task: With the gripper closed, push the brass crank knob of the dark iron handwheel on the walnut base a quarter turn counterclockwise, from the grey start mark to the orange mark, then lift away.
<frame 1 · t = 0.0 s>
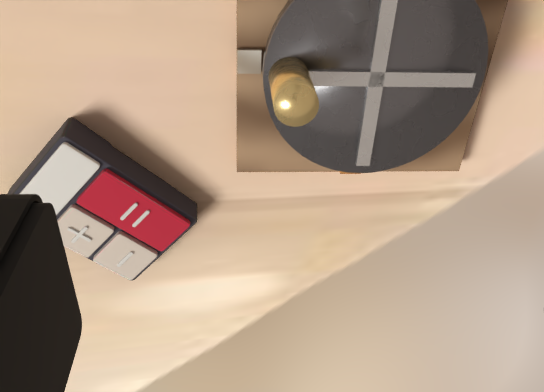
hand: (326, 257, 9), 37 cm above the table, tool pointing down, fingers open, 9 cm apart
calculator: (107, 195, 52), on the table
handwheel: (379, 83, 40), point 6 cm above the table, hinge at 0.0°
valve base: (362, 56, 45), on the table
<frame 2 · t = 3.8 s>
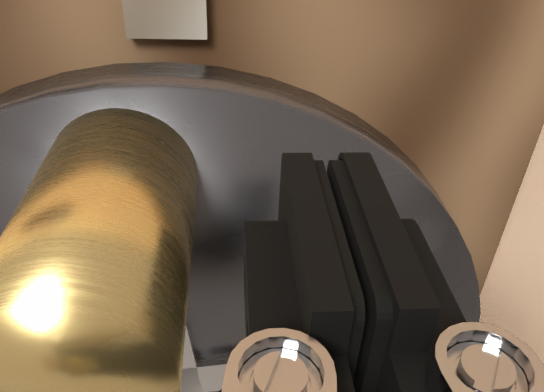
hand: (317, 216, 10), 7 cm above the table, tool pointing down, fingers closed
valve base: (189, 259, 20), on the table
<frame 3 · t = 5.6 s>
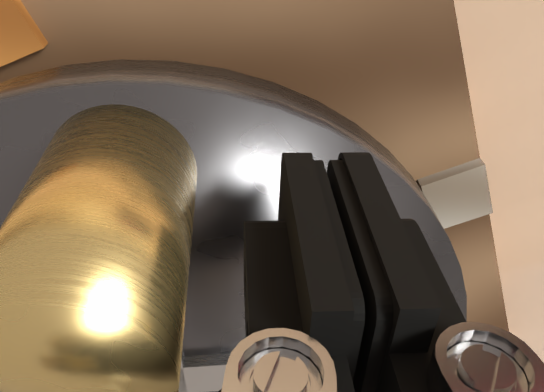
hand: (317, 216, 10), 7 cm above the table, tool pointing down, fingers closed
valve base: (178, 258, 19), on the table
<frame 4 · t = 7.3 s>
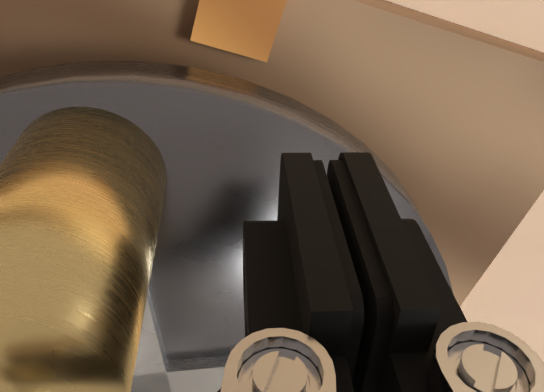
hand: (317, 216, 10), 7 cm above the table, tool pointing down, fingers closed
valve base: (166, 261, 19), on the table
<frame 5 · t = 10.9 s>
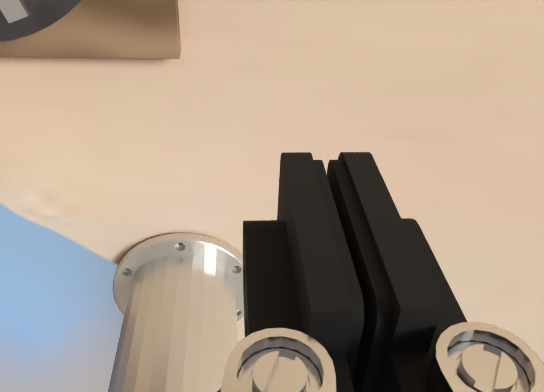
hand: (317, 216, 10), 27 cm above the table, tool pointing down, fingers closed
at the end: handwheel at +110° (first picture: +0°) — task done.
